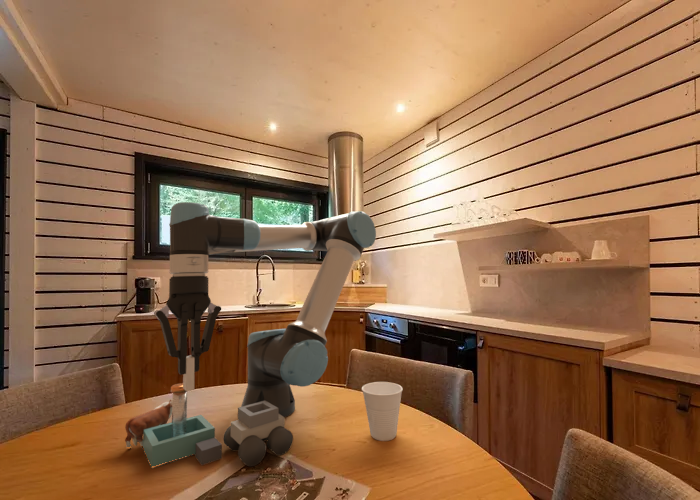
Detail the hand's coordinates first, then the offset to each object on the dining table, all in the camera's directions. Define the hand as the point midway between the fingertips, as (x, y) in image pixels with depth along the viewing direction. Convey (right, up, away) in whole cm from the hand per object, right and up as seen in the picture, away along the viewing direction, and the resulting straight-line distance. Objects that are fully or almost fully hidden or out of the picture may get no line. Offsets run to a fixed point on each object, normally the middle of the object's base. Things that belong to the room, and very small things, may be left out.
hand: (188, 388), depth 69 cm
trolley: (+13, -15, +4) cm, 21 cm away
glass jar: (-5, -15, +6) cm, 17 cm away
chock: (+3, -16, +2) cm, 16 cm away
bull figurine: (-13, -17, +10) cm, 24 cm away
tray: (-5, -16, +6) cm, 18 cm away
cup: (+42, -16, +10) cm, 46 cm away
